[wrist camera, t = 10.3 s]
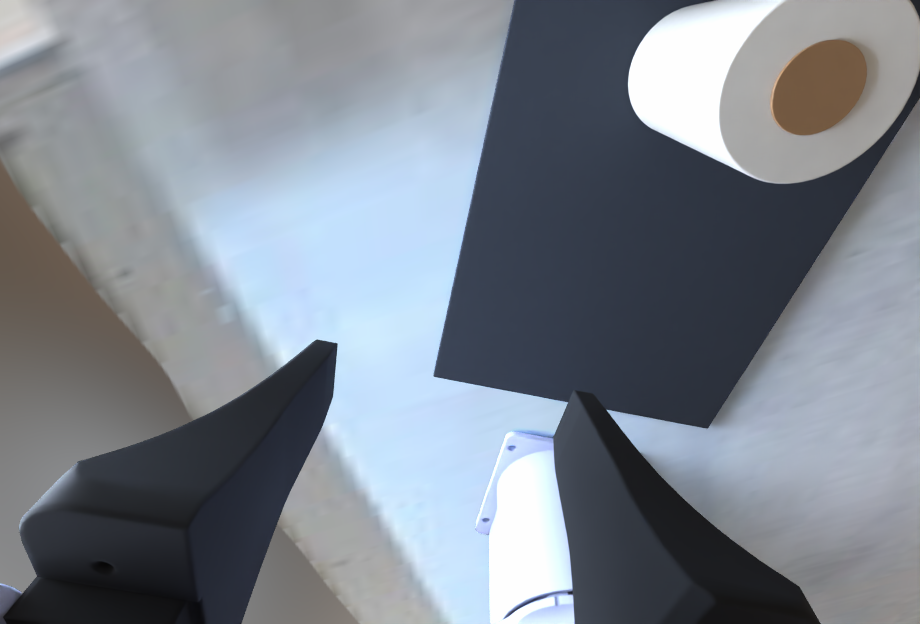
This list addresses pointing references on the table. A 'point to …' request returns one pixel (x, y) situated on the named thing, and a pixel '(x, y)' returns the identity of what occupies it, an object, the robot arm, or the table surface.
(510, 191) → the desk mat
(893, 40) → the paper roll
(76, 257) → the table surface
